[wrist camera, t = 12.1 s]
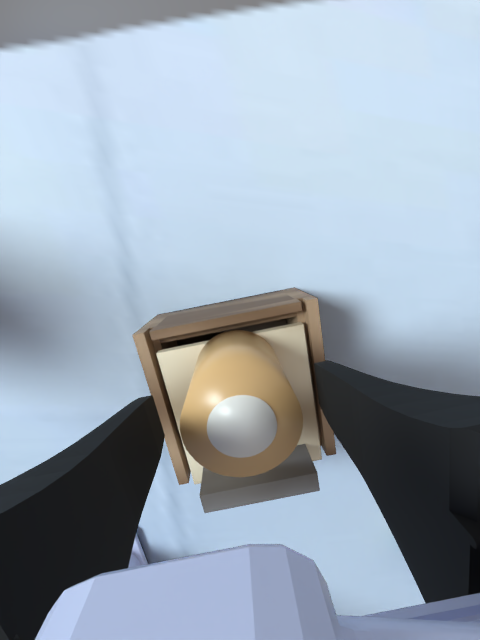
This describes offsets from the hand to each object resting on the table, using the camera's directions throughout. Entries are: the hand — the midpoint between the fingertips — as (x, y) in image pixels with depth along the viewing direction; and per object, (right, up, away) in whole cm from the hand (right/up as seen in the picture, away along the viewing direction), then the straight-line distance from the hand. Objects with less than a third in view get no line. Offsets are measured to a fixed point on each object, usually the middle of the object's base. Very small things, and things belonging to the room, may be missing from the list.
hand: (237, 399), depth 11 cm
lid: (0, -2, +4) cm, 5 cm away
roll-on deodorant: (0, +1, +3) cm, 3 cm away
